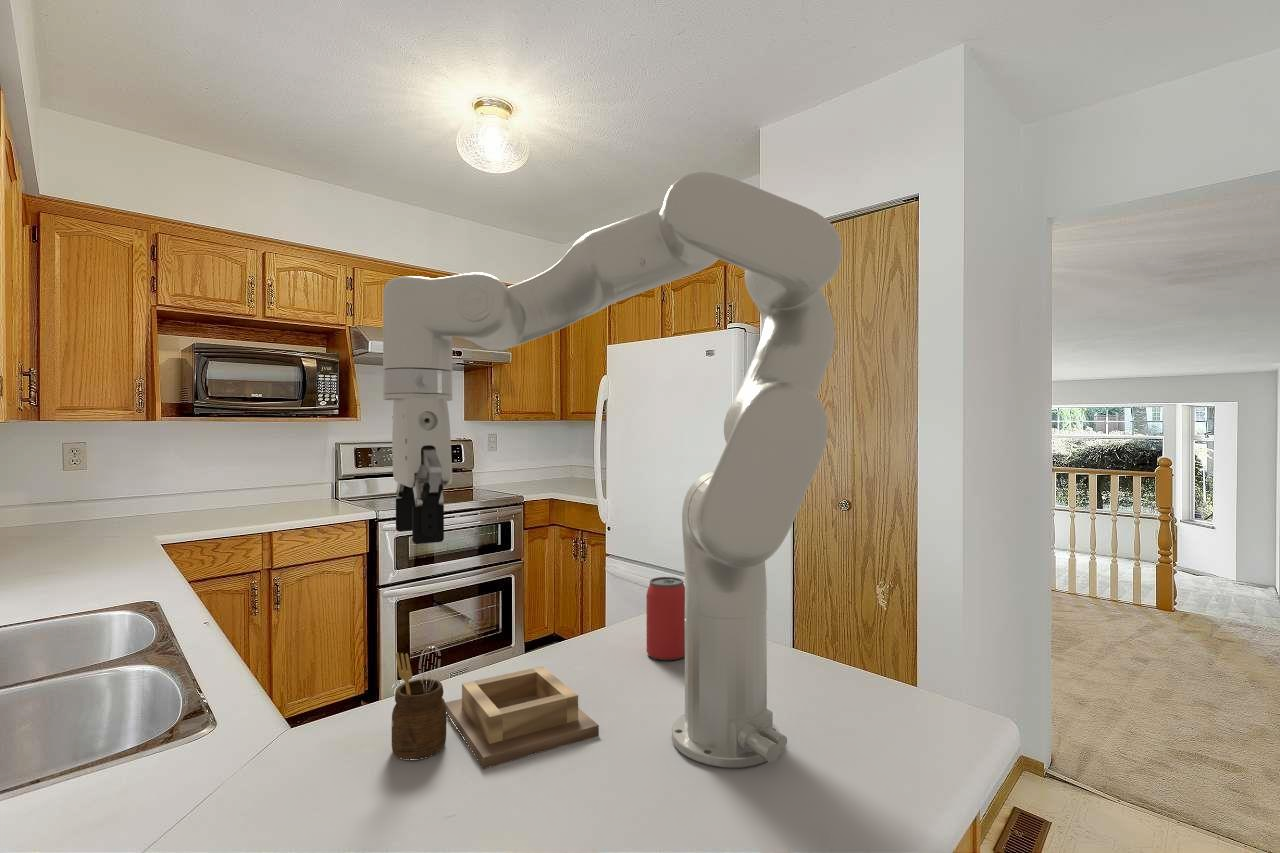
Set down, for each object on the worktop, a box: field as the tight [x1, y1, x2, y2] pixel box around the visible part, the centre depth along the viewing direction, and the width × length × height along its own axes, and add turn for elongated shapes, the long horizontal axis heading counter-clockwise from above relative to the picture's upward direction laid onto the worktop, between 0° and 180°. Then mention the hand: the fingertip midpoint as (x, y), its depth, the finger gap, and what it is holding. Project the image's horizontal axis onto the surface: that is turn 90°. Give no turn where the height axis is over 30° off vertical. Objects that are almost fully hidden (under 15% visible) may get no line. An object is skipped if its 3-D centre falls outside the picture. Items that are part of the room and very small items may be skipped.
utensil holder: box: [391, 645, 447, 761], centre depth 71 cm, size 6×6×12 cm
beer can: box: [645, 576, 685, 662], centre depth 101 cm, size 7×7×12 cm
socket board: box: [445, 666, 600, 769], centre depth 78 cm, size 16×14×4 cm
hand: (418, 536), depth 72 cm, fingers open, 9 cm apart
